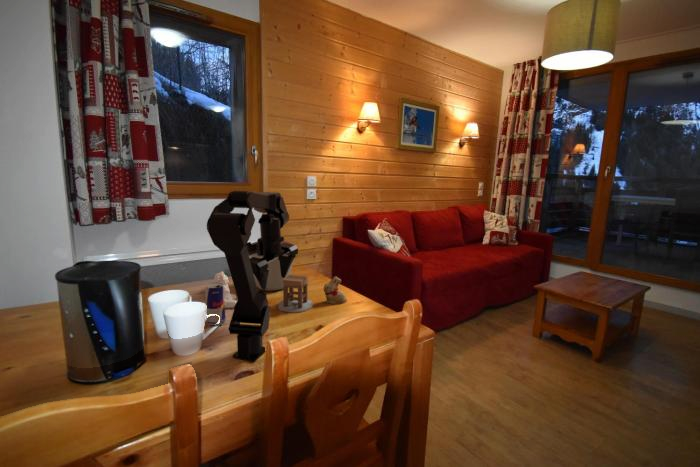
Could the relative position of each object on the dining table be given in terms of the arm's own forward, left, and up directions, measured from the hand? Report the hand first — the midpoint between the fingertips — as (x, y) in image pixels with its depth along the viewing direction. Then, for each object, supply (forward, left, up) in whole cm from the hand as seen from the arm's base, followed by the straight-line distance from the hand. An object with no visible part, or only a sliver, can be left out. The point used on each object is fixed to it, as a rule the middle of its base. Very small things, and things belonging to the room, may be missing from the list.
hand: (273, 283), depth 103 cm
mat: (+13, -1, -12) cm, 18 cm away
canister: (+27, +16, -13) cm, 34 cm away
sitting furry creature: (+5, +22, -13) cm, 26 cm away
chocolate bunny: (+21, -13, -13) cm, 28 cm away
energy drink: (-7, +16, -13) cm, 22 cm away
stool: (+13, -1, -12) cm, 18 cm away
